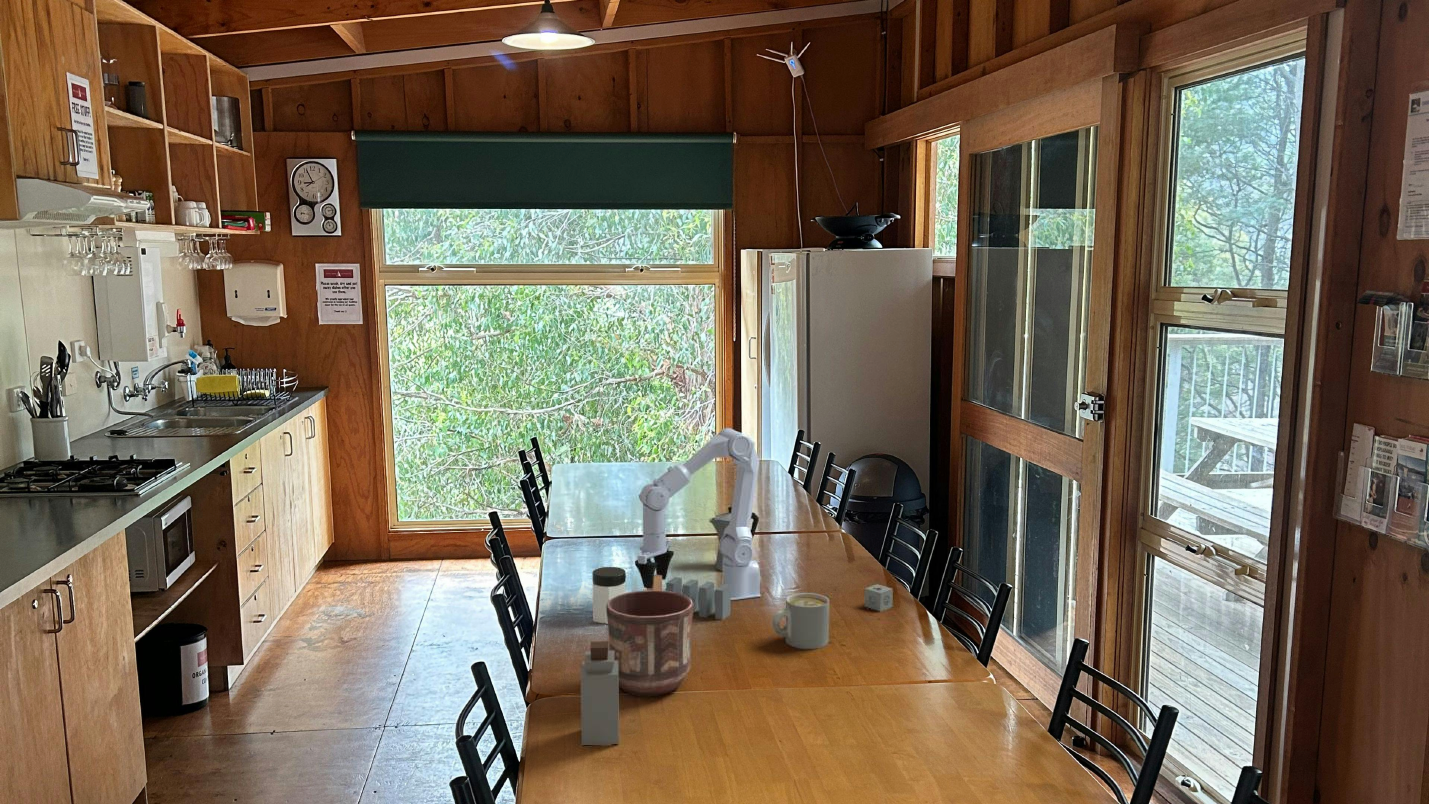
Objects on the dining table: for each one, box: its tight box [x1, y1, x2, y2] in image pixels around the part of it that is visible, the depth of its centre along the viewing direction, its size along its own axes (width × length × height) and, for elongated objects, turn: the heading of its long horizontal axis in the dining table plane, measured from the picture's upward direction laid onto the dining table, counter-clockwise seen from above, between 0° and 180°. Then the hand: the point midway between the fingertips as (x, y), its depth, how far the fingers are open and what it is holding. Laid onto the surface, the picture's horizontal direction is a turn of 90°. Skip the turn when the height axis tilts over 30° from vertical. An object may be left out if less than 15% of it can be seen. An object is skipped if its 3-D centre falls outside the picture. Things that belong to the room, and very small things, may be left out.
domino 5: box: [714, 584, 731, 621], centre depth 257 cm, size 2×5×8 cm, turn 156°
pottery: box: [606, 589, 694, 697], centre depth 215 cm, size 18×18×18 cm
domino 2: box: [665, 576, 683, 594], centre depth 263 cm, size 2×5×8 cm, turn 157°
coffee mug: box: [772, 592, 830, 650], centre depth 241 cm, size 13×10×10 cm
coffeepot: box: [708, 506, 760, 572], centre depth 297 cm, size 15×9×18 cm, turn 113°
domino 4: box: [698, 581, 715, 618], centre depth 259 cm, size 2×5×8 cm, turn 156°
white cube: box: [864, 584, 894, 612], centre depth 265 cm, size 5×5×5 cm
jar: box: [592, 566, 627, 625], centre depth 255 cm, size 9×8×12 cm
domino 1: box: [646, 574, 663, 591], centre depth 265 cm, size 2×5×8 cm, turn 157°
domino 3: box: [682, 579, 699, 613], centre depth 261 cm, size 2×5×8 cm, turn 157°
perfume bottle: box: [580, 640, 620, 746], centre depth 192 cm, size 7×7×18 cm
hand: (655, 583), depth 265 cm, fingers open, 7 cm apart
